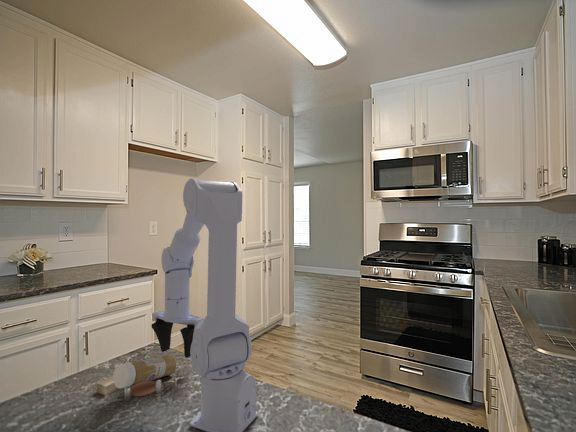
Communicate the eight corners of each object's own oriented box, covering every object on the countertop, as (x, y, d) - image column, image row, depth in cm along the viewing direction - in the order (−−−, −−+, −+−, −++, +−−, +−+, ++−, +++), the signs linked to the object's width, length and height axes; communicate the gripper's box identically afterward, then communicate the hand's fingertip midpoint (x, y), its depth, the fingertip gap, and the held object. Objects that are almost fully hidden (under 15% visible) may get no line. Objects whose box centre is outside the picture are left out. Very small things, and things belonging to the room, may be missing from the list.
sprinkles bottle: (172, 378, 73) (121, 394, 61) (160, 368, 75) (108, 381, 64) (180, 360, 74) (131, 371, 62) (167, 350, 76) (118, 359, 64)
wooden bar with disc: (173, 379, 72) (174, 370, 72) (131, 405, 62) (131, 395, 62) (140, 370, 76) (140, 362, 76) (96, 392, 66) (96, 383, 66)
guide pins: (162, 392, 66) (162, 380, 66) (141, 405, 62) (141, 392, 62) (131, 382, 70) (131, 371, 70) (109, 394, 66) (109, 382, 66)
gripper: (211, 296, 77) (211, 351, 77) (167, 291, 83) (167, 342, 83) (191, 303, 71) (191, 363, 71) (145, 296, 77) (145, 352, 77)
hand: (177, 353), depth 77 cm, fingers open, 7 cm apart
